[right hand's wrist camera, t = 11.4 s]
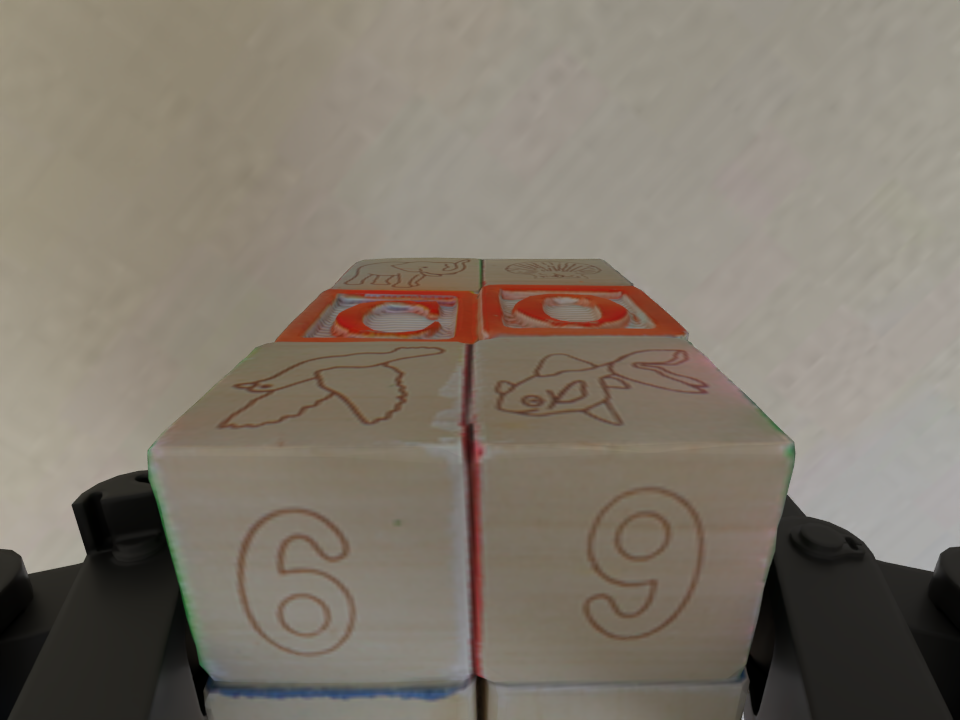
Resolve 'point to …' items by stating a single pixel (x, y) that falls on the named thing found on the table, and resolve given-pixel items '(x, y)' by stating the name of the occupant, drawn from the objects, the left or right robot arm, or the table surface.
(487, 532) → the stack of blocks
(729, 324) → the table surface
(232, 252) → the table surface
